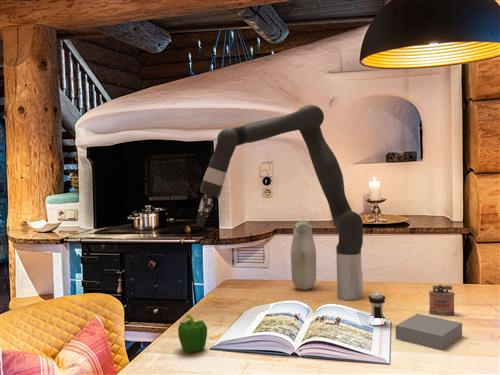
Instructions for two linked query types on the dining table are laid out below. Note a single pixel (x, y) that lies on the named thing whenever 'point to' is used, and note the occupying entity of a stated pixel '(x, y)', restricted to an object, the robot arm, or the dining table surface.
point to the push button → (377, 305)
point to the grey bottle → (303, 256)
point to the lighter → (442, 301)
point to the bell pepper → (192, 335)
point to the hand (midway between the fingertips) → (199, 224)
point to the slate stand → (429, 331)
